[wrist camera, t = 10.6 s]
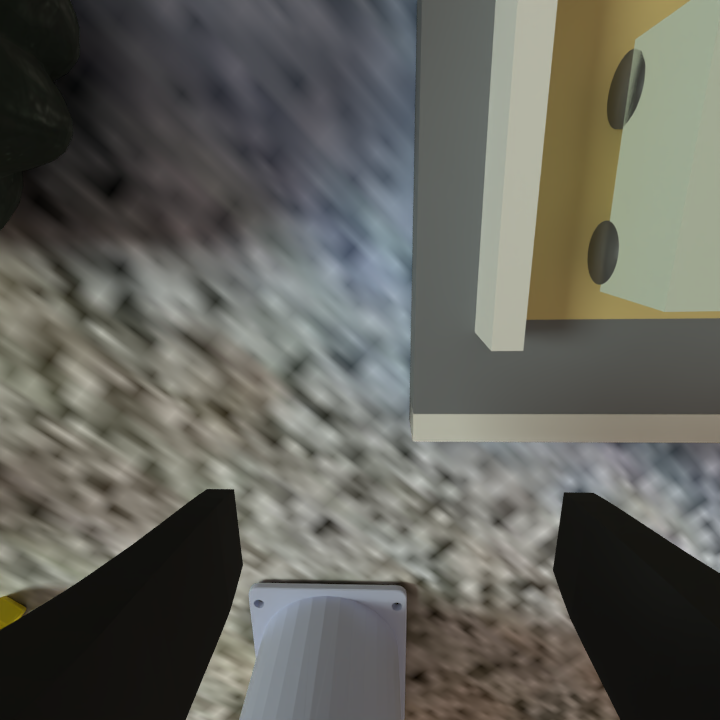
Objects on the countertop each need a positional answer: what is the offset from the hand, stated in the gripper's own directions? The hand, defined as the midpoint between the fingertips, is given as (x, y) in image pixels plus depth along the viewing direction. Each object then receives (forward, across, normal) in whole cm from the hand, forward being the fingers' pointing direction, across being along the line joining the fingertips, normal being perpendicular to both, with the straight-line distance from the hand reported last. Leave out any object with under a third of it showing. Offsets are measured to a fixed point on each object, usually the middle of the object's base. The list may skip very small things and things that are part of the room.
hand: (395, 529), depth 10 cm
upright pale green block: (+8, -9, -8) cm, 14 cm away
